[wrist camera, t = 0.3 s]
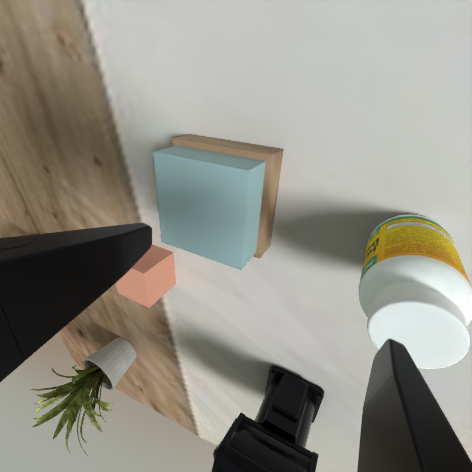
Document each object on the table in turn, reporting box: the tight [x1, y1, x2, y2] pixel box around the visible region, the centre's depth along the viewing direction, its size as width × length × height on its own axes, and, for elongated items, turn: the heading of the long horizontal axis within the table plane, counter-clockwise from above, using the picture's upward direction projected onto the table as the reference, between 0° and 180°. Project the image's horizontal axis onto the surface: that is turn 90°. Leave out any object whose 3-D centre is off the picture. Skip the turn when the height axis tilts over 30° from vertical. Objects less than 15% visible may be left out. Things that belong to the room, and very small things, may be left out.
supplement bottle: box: [359, 214, 472, 369], centre depth 16 cm, size 5×5×10 cm
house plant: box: [32, 337, 137, 452], centre depth 45 cm, size 14×14×16 cm
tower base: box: [172, 134, 283, 258], centre depth 24 cm, size 9×9×3 cm
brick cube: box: [116, 245, 176, 308], centre depth 33 cm, size 5×5×5 cm
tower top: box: [153, 145, 266, 270], centre depth 22 cm, size 8×8×3 cm
